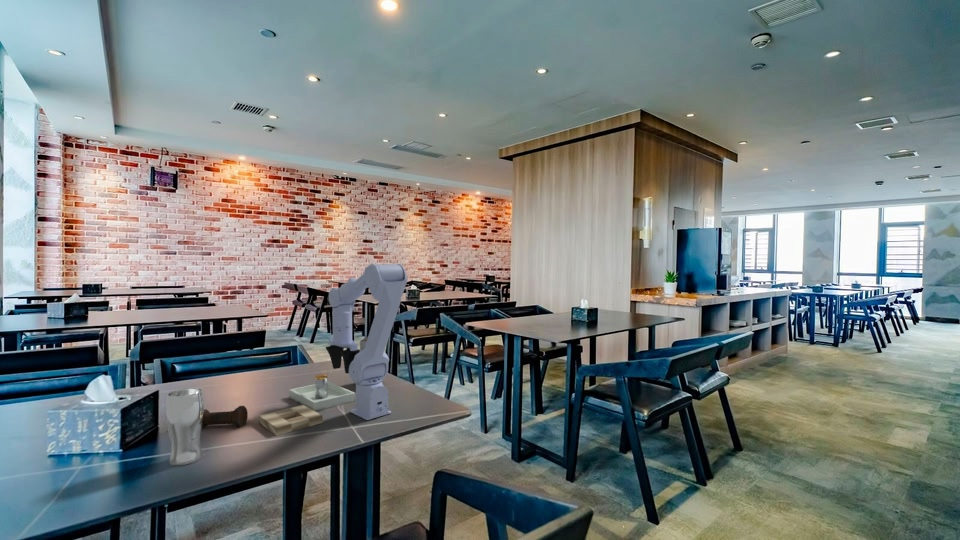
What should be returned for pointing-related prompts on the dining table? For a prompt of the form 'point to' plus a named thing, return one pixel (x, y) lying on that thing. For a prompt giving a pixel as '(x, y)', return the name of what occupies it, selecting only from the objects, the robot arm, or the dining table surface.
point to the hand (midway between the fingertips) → (342, 370)
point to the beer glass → (185, 424)
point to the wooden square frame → (290, 419)
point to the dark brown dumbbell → (226, 417)
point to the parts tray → (334, 398)
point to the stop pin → (321, 386)
